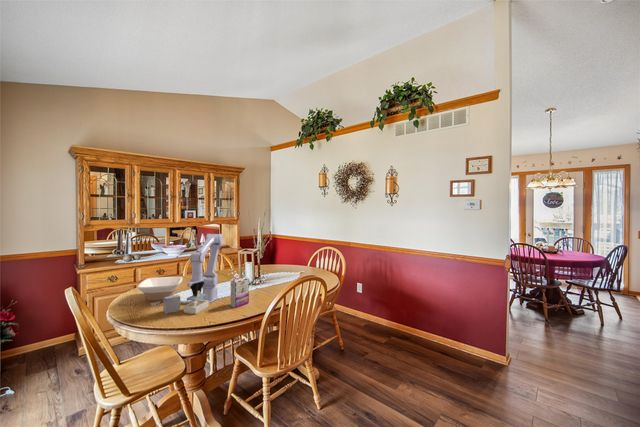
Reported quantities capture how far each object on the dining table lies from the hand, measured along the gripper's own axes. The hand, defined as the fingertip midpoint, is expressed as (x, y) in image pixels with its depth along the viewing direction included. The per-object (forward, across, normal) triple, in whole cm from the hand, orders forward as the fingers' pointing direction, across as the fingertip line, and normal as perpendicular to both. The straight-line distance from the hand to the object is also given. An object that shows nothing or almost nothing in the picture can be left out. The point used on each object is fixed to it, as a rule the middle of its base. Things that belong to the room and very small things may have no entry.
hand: (196, 294), depth 163 cm
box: (+9, 0, 0) cm, 9 cm away
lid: (+2, 0, 0) cm, 2 cm away
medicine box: (+9, +6, -12) cm, 16 cm away
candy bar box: (+9, -15, +20) cm, 27 cm away
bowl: (+9, -12, -36) cm, 39 cm away
